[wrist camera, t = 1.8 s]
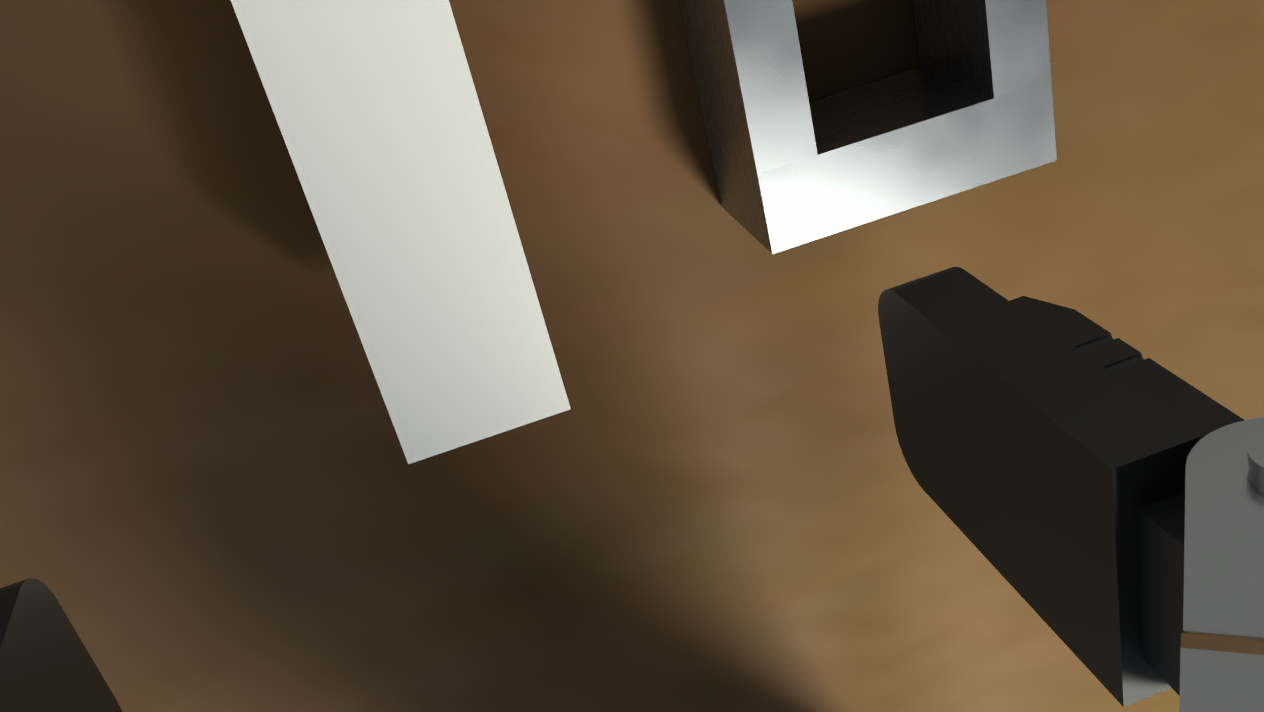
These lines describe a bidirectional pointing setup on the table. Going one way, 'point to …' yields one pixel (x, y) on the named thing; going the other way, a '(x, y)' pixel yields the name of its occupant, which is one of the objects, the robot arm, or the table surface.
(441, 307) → the light grey box
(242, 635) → the table surface
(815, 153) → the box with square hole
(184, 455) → the table surface
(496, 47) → the table surface
